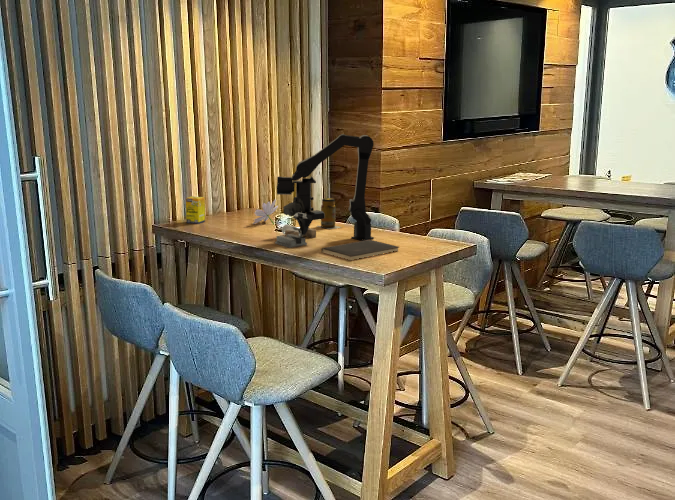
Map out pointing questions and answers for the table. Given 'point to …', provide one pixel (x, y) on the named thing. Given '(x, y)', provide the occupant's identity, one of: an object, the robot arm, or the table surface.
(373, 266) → the table surface
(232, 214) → the table surface
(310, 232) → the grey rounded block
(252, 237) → the table surface
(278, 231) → the table surface
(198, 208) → the supplement box
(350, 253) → the hardcover book
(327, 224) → the condiment
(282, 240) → the v block
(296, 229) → the axle
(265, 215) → the water lily
